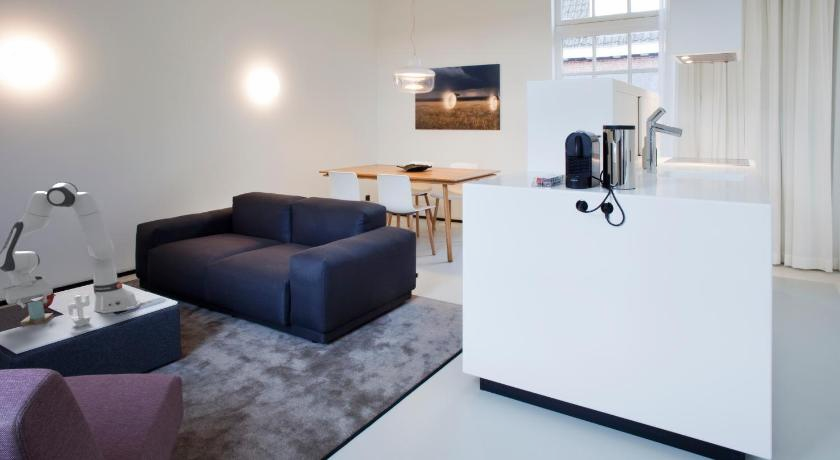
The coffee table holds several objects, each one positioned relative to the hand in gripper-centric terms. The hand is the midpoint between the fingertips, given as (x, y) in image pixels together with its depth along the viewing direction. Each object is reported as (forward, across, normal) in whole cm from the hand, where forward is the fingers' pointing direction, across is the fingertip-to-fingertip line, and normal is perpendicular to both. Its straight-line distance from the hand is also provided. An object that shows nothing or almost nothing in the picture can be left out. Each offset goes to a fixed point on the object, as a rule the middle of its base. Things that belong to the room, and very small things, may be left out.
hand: (35, 304), depth 286 cm
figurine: (+25, +10, -12) cm, 30 cm away
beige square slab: (+6, 0, +6) cm, 9 cm away
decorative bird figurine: (-4, +6, +17) cm, 18 cm away
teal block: (+5, 0, +5) cm, 7 cm away
